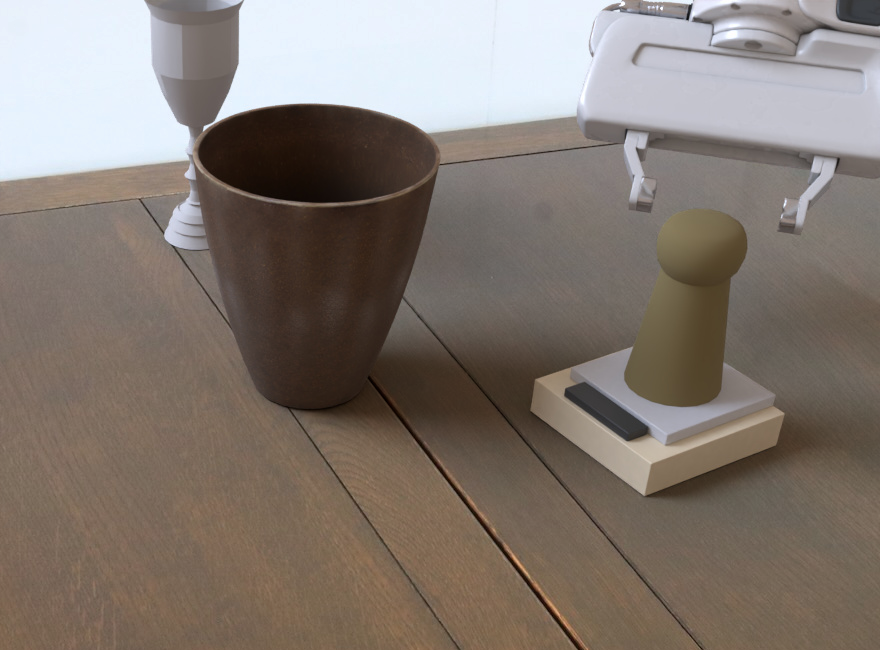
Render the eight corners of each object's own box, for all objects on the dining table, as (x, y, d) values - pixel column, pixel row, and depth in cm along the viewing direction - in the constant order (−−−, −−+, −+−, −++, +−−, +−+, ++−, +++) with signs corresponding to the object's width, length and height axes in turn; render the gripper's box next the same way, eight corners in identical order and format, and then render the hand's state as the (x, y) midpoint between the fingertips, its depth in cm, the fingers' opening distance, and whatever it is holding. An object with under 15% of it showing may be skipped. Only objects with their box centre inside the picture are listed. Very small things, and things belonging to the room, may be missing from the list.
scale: (657, 366, 107) (666, 324, 104) (776, 445, 99) (788, 402, 97) (529, 411, 102) (536, 368, 100) (644, 496, 95) (653, 452, 93)
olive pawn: (716, 414, 96) (755, 249, 89) (616, 396, 98) (648, 233, 90) (726, 365, 101) (764, 204, 93) (631, 349, 102) (662, 189, 95)
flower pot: (158, 353, 107) (151, 126, 97) (347, 305, 113) (359, 85, 102) (260, 465, 97) (265, 225, 87) (462, 406, 103) (489, 173, 92)
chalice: (226, 208, 124) (226, -27, 112) (257, 246, 119) (261, 4, 108) (138, 223, 122) (129, -15, 110) (166, 261, 117) (160, 17, 106)
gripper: (599, -30, 101) (550, 177, 100) (935, 8, 96) (886, 226, 95) (600, 17, 107) (554, 213, 106) (916, 55, 102) (869, 260, 101)
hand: (713, 219), depth 101 cm, fingers open, 8 cm apart
